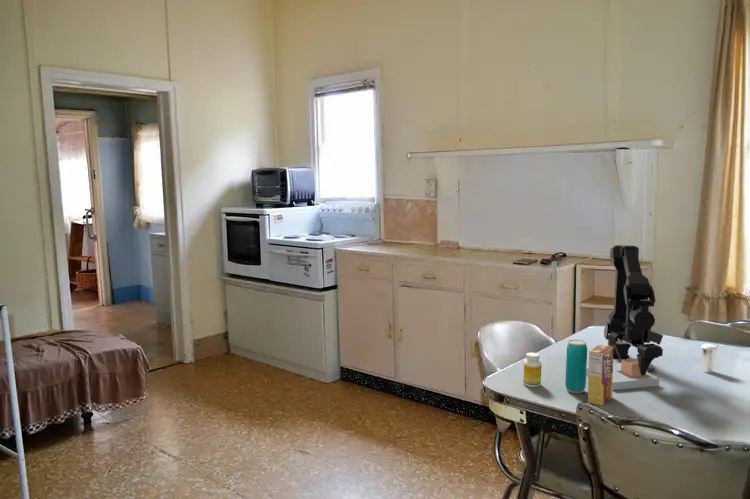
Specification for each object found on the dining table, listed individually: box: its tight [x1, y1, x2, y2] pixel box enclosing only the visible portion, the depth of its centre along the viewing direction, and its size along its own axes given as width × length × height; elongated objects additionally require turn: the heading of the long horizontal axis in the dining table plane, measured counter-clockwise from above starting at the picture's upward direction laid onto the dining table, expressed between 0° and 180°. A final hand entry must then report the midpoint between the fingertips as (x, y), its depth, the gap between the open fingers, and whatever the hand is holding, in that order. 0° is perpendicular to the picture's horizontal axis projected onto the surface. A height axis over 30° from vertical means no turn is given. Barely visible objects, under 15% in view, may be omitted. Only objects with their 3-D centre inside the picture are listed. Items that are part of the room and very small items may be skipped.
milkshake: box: [700, 342, 721, 374], centre depth 198 cm, size 4×5×10 cm
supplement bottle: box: [522, 352, 542, 388], centre depth 186 cm, size 5×5×10 cm
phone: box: [647, 364, 656, 373], centre depth 203 cm, size 10×6×1 cm, turn 13°
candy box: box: [587, 343, 614, 407], centre depth 173 cm, size 9×4×15 cm, turn 140°
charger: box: [620, 357, 645, 378], centre depth 189 cm, size 5×5×6 cm
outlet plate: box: [586, 362, 660, 391], centre depth 191 cm, size 16×16×2 cm
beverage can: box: [564, 339, 588, 395], centre depth 180 cm, size 6×6×15 cm
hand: (633, 370), depth 189 cm, fingers open, 9 cm apart
